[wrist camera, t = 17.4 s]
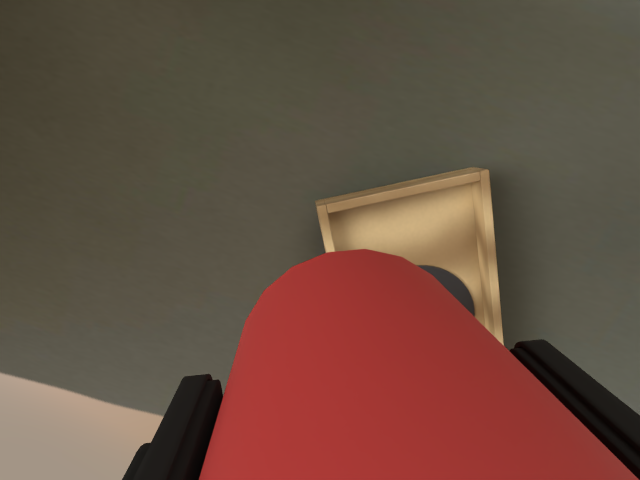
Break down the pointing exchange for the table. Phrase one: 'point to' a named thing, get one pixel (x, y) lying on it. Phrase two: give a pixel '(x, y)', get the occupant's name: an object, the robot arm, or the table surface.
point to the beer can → (387, 387)
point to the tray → (427, 233)
